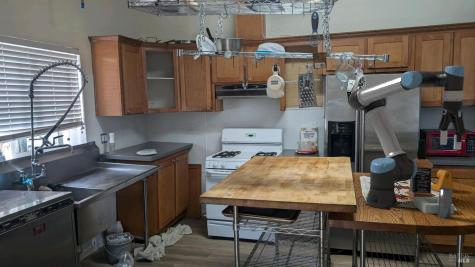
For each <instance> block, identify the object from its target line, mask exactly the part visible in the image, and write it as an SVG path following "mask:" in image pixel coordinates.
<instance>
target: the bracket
mask: <svg viewBox="0 0 475 267" xmlns="http://www.w3.org/2000/svg"><path fill="white" fill-rule="evenodd" d="M436 177H437V178H438V183H434V184H431V190H434V191H438V192H439V191H440V188H450V189H452V190H454V184H453V183H454V182H453V178H452V174H451V171H450V170H445V169H439V170H438V171H437V173H436Z"/></svg>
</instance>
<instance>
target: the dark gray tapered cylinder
mask: <svg viewBox="0 0 475 267" xmlns="http://www.w3.org/2000/svg"><path fill="white" fill-rule="evenodd" d="M438 192H439V193H438V194H439V195H438V197H439V208H438V214H437V217H439V218H440V219H443V220H444V219H445V220H449V219H451V218H452V216H451V215H452V214H451V204H453V203H452V202H453V199H452V198H453V189H450V188H440V191H438Z"/></svg>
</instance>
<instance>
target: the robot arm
mask: <svg viewBox="0 0 475 267" xmlns="http://www.w3.org/2000/svg"><path fill="white" fill-rule="evenodd" d="M464 83H465V66H463V65H447V66H445V69H444V70H439V71H438V70H436V71H434V70H433V71H431V70H429V71H423V70H422V71H421V70H409V71H405V72H404V73H403V74H402V75H401V76H398V77H394V78H392V79H389V80H386V81H384V82H382V83H377V84H375V85H374V86H371V87H368V88H366V87H365V88H364V87H363V88H359V89H356V90H354V91H352V92H351V93H350V94H349V96H348V105H349V106H350V107H351V109H353V110H355V111H359V112H360V111H361V112H364V115H365V117H367V118H369V119H370V121H371V123H372V126H373V128H374V132H375V134H376V135H377V136H376V137H377V139H378V141H379V143H380V145H381V148H382V151H383V152H384V155H385V157H378V158H375V159H373V160H372V161H371V162H370V167H369V168H370V171H369V172H370V173H369V174H370V175H369V178H370V180H369V182H370V183H369V190H368V193H367V195H366V199H365V203H366V204H367V205H368V206H370V207H373V208H377V209H391V208H393V207H397V206H398V198H397V195H396V191H395V184H396V183H400V182H407V181H410V179H412V178H414V177H415V175H416V173H417V164H416V162H415V161H414V160H413V159H412V157H409V156H408V153H407V152H406V151H403V150H402V148H401V145H400V143H399V141H398V138H397V136H396V134H395V132H394V129H393V127H392V125H391V123H390V120H389V117H388V116H387V113H386V110H387V104H388V103H387V102H388V99H387V98H388V97H391V96H394V95H399V94H401V93H403V92H404V93H405V92H407V91H410V90H413V89H417V88H419V89H420V88H421V89H422V88H425V89H427V88H428V89H429V88H443V98H442V99H443V100H444V101H443V104H442V109H444V110H442V112H441V117H440V121H439V125H438V129H439V130H440V140H439V145H440V146H441V145H442V146H444V145H448V144H447V143H448V133H449V132H448V130H449V129H448V128H449V126H450V124H451V123H452V126H453V129H454V134H453V135H454V136H453V137H454V139H453V150H462V139H463V135H465V134H466V130H465V129H466V128H465V122H464V119H463V118H464V116H463V112H462V111H459V110H463V103H464V102H463V98H464V94H465V93H464Z"/></svg>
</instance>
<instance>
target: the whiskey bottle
mask: <svg viewBox="0 0 475 267" xmlns="http://www.w3.org/2000/svg"><path fill="white" fill-rule="evenodd" d="M417 144H418V145H417V146H418V148H417V151H416V158H414V159H413V160H414V161H415V162H416V164H417V173H416V175H415V177H414V178H412V179H410V180H409V188H408V197H410V198H411V199H414V197H433V194H432V189H431V185H432V174H433V173H432V172H433V170H432V169H433V168H434V167H433V166H434V164H433V163H432V162H431V161H430V160H429V159H427V153H428V152H427V140H426V139H418V143H417Z"/></svg>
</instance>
